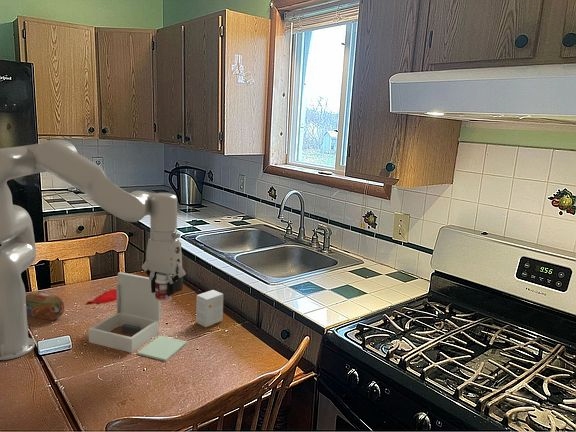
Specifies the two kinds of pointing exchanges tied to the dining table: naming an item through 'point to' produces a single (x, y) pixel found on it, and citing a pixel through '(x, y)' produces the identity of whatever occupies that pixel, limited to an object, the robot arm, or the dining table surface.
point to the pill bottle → (161, 287)
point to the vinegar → (180, 281)
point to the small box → (209, 308)
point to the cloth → (106, 297)
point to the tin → (44, 306)
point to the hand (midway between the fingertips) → (163, 292)
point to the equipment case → (130, 315)
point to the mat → (162, 348)
